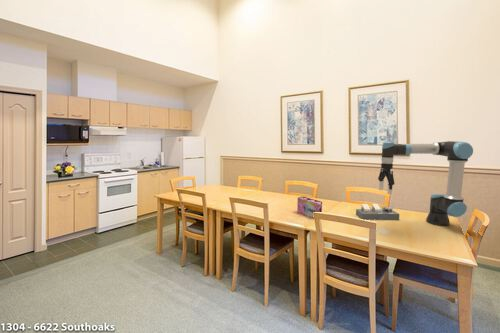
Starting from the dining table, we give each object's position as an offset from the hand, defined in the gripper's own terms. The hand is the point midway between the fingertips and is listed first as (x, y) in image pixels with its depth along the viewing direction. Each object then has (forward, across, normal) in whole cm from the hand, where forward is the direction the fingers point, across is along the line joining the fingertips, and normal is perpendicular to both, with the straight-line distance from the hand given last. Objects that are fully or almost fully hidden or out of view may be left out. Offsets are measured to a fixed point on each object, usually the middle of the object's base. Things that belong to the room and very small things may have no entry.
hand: (385, 191), depth 191 cm
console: (+28, -26, +7) cm, 38 cm away
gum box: (+28, -30, -50) cm, 64 cm away
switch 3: (+20, -27, +16) cm, 37 cm away
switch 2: (+20, -27, +7) cm, 34 cm away
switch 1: (+20, -27, -2) cm, 34 cm away
